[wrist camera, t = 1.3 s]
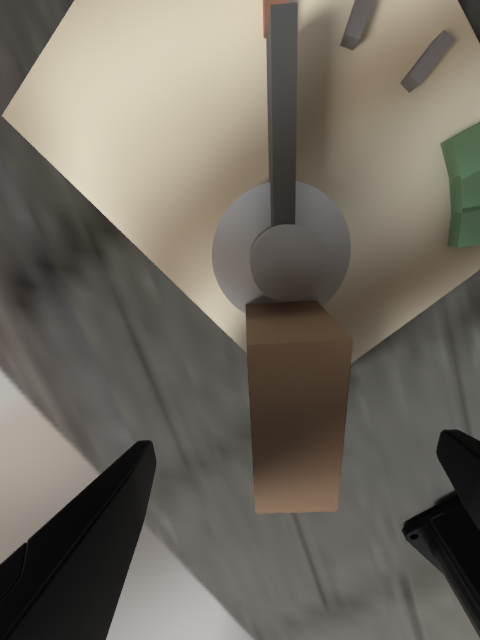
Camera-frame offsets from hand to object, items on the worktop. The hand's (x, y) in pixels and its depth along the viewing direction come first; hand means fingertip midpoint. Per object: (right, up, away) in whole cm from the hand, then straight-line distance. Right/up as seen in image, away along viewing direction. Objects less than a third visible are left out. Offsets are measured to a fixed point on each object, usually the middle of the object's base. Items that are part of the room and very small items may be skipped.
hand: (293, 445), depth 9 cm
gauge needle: (0, +6, +1) cm, 6 cm away
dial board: (0, +10, +2) cm, 10 cm away
